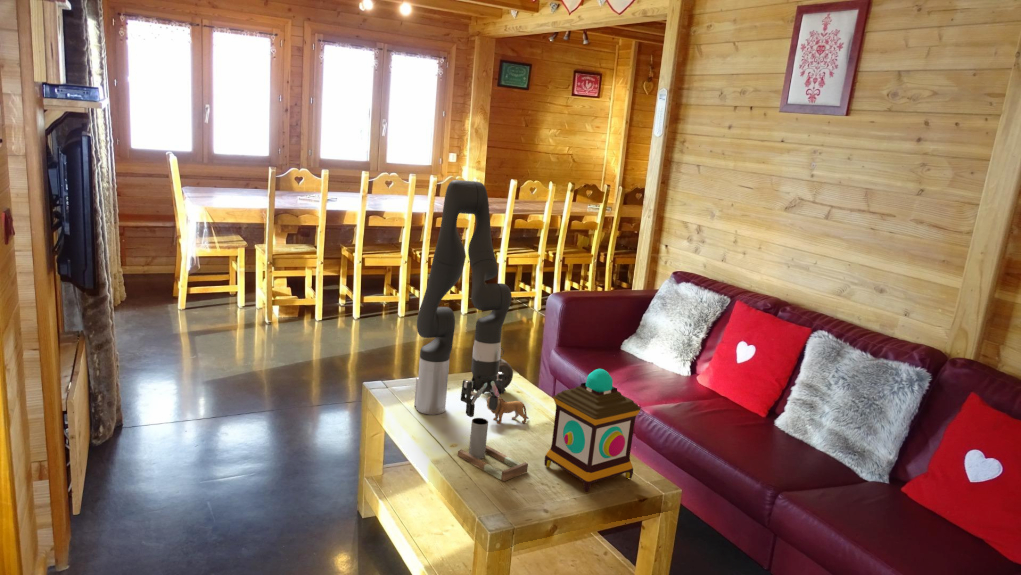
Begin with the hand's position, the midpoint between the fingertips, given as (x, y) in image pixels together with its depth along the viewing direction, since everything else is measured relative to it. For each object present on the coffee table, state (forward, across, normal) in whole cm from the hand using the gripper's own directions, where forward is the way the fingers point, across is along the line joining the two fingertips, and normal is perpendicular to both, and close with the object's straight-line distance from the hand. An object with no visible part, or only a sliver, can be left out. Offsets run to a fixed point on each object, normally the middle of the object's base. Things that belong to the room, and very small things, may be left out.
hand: (481, 412), depth 201 cm
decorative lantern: (+13, -18, +25) cm, 33 cm away
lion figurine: (+13, -24, -12) cm, 29 cm away
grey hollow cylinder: (+13, 0, 0) cm, 13 cm away
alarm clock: (+12, -38, -31) cm, 51 cm away
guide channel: (+13, 0, +6) cm, 14 cm away
